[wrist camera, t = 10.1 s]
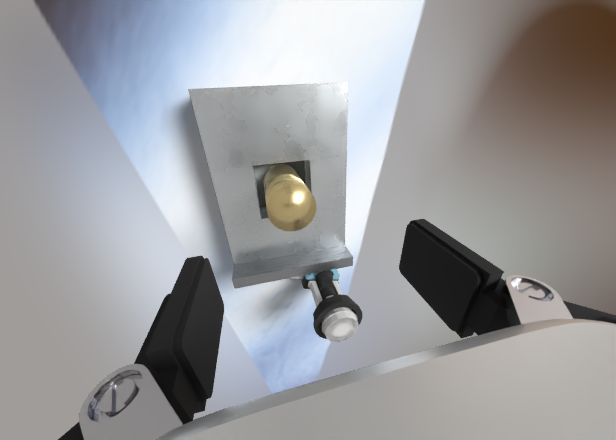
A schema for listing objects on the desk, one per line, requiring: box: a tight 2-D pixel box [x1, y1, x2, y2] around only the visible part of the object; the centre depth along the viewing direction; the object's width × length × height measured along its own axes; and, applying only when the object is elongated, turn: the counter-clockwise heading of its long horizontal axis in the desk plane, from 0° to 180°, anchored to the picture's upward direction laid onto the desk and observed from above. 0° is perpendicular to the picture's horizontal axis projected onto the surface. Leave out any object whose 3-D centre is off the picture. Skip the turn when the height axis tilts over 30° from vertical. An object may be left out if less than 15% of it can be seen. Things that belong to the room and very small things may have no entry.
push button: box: [291, 269, 362, 342], centre depth 26 cm, size 7×5×10 cm
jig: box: [188, 82, 353, 288], centre depth 22 cm, size 18×13×6 cm
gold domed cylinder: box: [263, 164, 317, 232], centre depth 21 cm, size 4×4×8 cm
